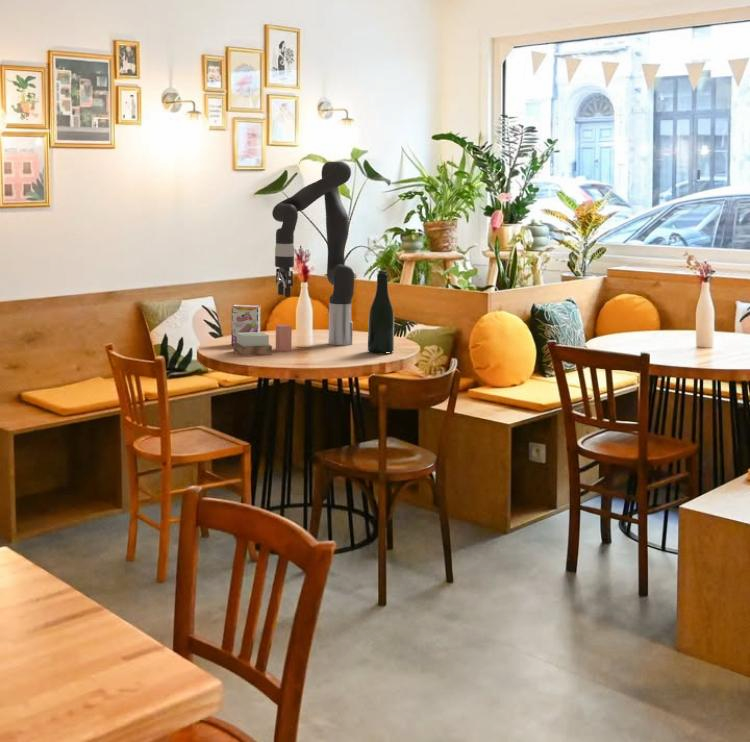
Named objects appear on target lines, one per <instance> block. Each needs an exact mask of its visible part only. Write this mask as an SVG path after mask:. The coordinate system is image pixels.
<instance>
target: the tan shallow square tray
mask: <svg viewBox="0 0 750 742" xmlns="http://www.w3.org/2000/svg"><path fill="white" fill-rule="evenodd" d="M234 351H235V352H234ZM233 352H234V353H236V352H237V353H238V354H237V353H236V354H237V355H239V354H240V355H239V356H241V355H242V356H241V357H249V356H248V355H257V356H272V355H273V346H272V345H270V344H269V346H245V347H244V346H242V345H240V344H238V343H234V345H233ZM243 355H244V356H243ZM245 355H247V356H245Z"/></svg>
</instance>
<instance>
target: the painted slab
mask: <svg viewBox="0 0 750 742" xmlns="http://www.w3.org/2000/svg"><path fill="white" fill-rule="evenodd" d="M269 341H270V335H269V334H267V333H265V332H262V331H260V332H245V333H237V343H238V344H240V345H242V346H244V347H245V346H269V345H270V344H269V343H270V342H269Z"/></svg>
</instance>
